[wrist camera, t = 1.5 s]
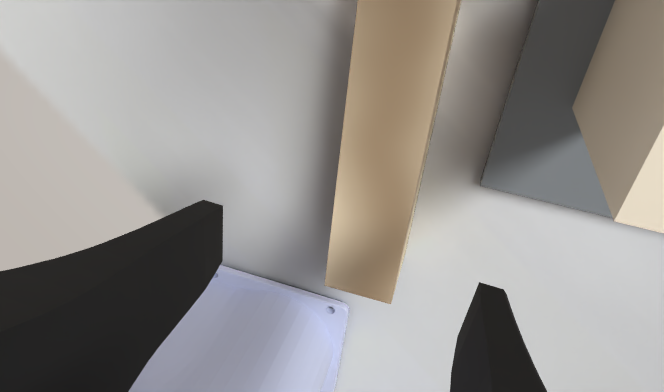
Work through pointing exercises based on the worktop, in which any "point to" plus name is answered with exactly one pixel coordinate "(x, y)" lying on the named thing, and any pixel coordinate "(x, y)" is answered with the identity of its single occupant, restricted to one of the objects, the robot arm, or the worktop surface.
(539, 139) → the mat
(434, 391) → the worktop surface
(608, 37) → the tile
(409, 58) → the tan wooden plank
